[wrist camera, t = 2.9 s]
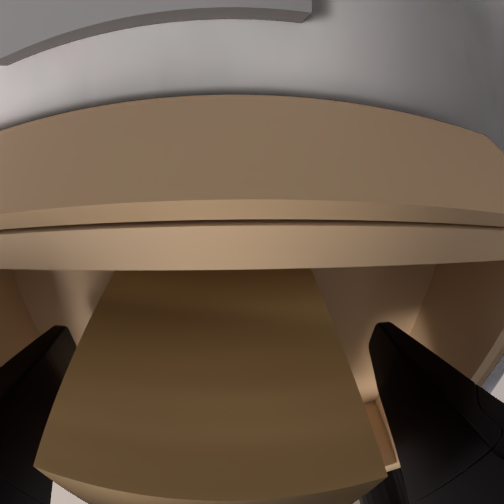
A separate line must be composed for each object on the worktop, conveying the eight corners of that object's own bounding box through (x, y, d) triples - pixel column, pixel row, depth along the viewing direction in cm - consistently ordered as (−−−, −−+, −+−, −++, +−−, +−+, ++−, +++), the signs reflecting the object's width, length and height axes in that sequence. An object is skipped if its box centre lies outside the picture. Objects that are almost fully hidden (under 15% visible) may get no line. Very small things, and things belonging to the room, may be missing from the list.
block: (274, 402, 11) (293, 539, 6) (175, 403, 11) (166, 540, 6) (294, 232, 8) (387, 476, 2) (135, 234, 7) (33, 465, 2)
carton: (393, 407, 14) (416, 467, 10) (66, 412, 12) (48, 472, 9) (497, 140, 7) (589, 182, 3) (-45, 148, 6) (-128, 192, 2)
